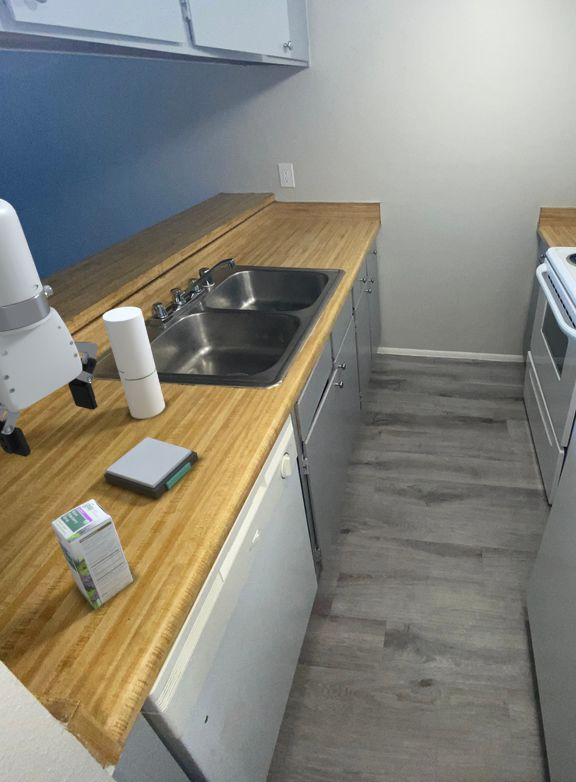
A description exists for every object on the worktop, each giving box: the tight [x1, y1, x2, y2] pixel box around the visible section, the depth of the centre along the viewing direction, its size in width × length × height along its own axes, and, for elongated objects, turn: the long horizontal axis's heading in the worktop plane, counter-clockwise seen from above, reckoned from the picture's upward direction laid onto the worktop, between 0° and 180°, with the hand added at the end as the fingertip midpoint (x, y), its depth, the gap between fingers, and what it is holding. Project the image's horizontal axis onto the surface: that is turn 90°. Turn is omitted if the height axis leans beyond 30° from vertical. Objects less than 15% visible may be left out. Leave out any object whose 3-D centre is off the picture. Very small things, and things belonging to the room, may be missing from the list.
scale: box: [103, 436, 199, 500], centre depth 92 cm, size 12×11×3 cm
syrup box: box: [50, 498, 134, 610], centre depth 69 cm, size 6×6×14 cm
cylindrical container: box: [102, 306, 166, 420], centre depth 104 cm, size 7×7×25 cm
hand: (55, 428), depth 62 cm, fingers open, 9 cm apart
